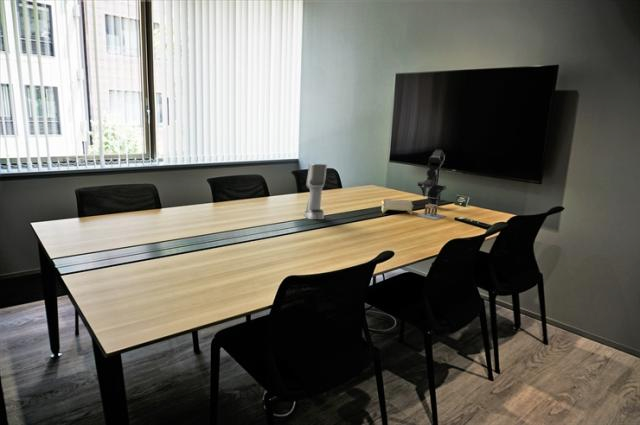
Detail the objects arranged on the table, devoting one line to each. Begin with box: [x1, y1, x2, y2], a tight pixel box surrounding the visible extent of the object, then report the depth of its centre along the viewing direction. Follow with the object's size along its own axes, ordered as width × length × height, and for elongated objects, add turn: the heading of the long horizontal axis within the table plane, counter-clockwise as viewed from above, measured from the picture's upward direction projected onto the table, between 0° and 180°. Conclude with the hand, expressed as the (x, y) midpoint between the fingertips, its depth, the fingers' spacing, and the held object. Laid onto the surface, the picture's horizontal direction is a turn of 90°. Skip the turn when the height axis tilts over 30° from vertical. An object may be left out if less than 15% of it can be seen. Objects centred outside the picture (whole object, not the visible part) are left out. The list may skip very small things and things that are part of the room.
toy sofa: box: [381, 198, 414, 215], centre depth 292 cm, size 21×9×10 cm, turn 89°
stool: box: [424, 203, 439, 217], centre depth 288 cm, size 6×6×7 cm
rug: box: [415, 211, 446, 221], centre depth 288 cm, size 16×14×1 cm
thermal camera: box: [303, 163, 328, 221], centre depth 265 cm, size 12×13×35 cm
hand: (430, 197), depth 289 cm, fingers open, 9 cm apart
